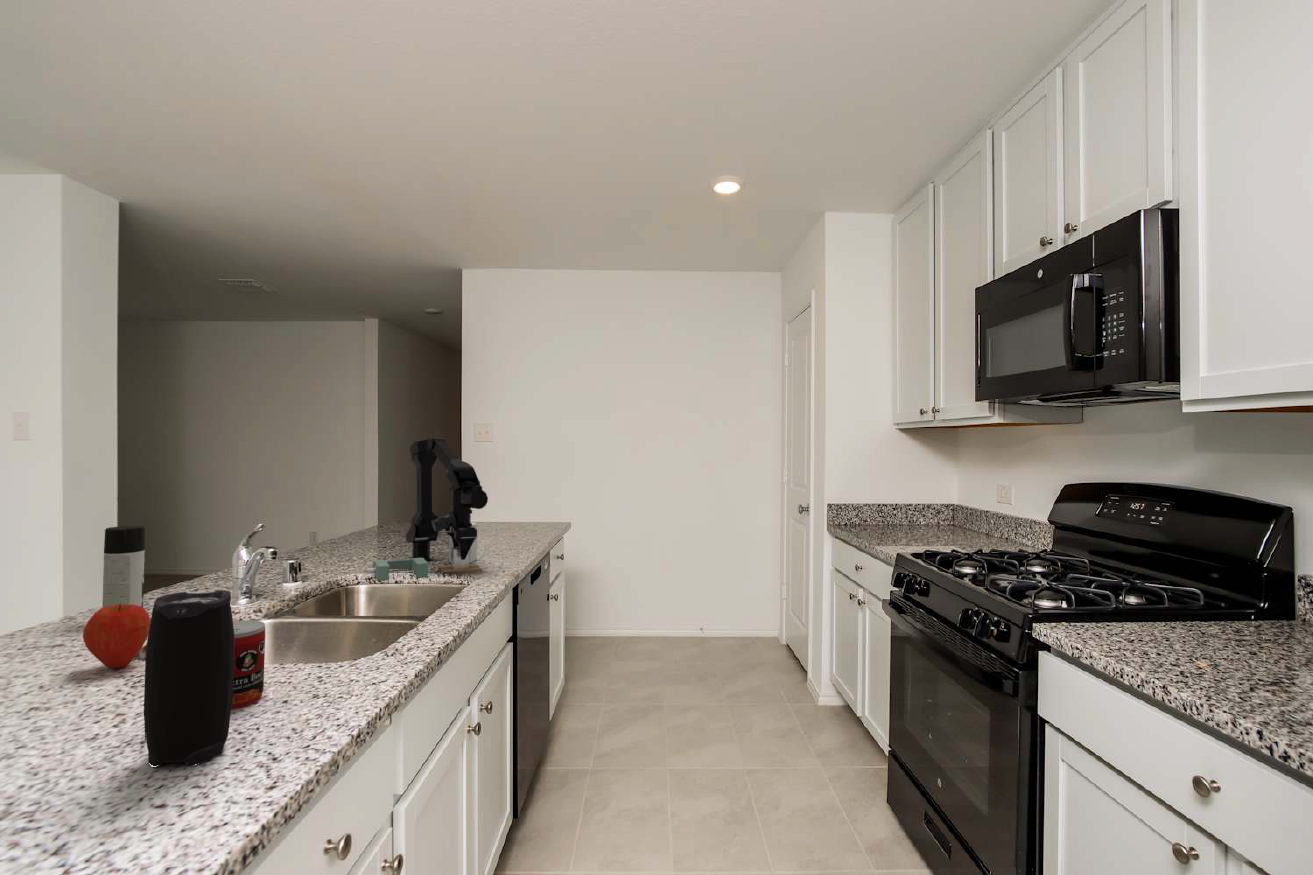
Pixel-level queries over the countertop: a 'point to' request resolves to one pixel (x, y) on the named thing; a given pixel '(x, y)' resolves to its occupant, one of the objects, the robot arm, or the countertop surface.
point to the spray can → (124, 566)
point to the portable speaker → (189, 677)
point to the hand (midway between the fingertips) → (459, 557)
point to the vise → (398, 567)
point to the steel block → (458, 559)
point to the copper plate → (449, 570)
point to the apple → (117, 634)
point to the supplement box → (472, 550)
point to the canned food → (248, 662)
